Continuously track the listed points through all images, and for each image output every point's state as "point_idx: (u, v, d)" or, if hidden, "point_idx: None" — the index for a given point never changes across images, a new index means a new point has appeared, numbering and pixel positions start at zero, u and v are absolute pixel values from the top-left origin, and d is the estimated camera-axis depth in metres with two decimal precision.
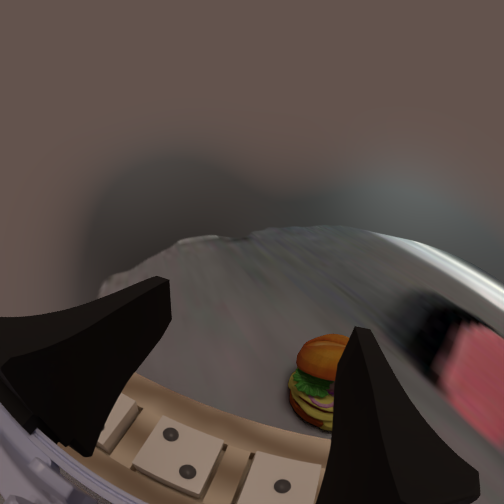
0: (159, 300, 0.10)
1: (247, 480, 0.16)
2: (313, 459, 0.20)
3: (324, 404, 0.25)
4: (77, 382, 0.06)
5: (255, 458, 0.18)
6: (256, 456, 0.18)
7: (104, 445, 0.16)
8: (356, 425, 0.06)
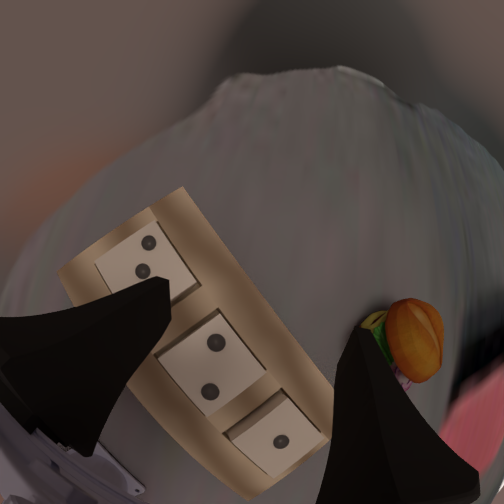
0: (159, 300, 0.10)
1: (258, 422, 0.19)
2: (324, 421, 0.22)
3: None
4: (77, 382, 0.06)
5: (280, 404, 0.20)
6: (283, 403, 0.20)
7: None
8: (356, 425, 0.06)
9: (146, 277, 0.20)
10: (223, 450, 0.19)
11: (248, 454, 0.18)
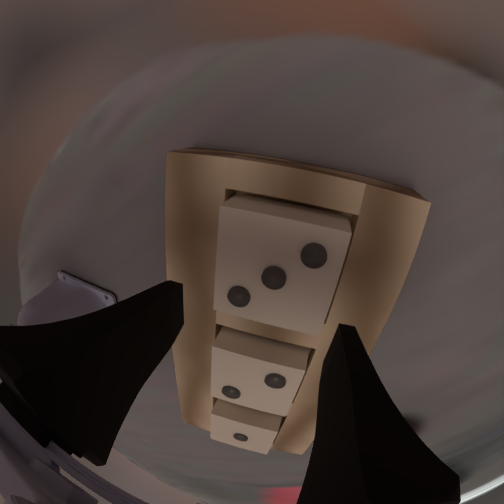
0: (173, 305, 0.09)
1: (241, 423, 0.20)
2: (283, 442, 0.23)
3: None
4: (92, 392, 0.06)
5: (268, 429, 0.20)
6: (271, 430, 0.19)
7: None
8: (335, 423, 0.06)
9: (271, 288, 0.13)
10: (202, 400, 0.23)
11: (213, 423, 0.21)
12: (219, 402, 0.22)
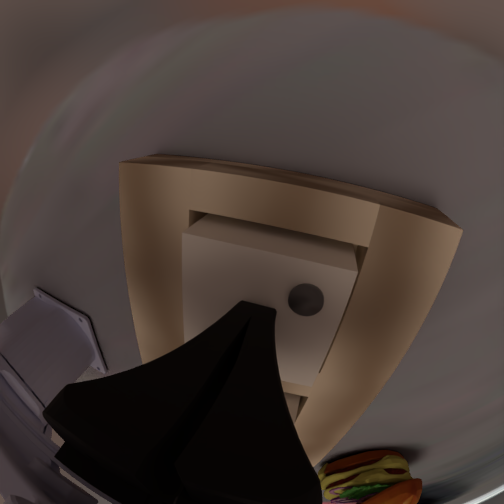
0: None
1: None
2: None
3: (333, 491, 0.17)
4: None
5: None
6: None
7: None
8: None
9: None
10: None
11: None
12: None
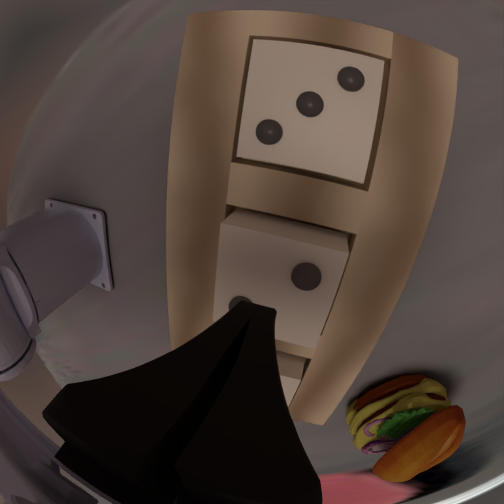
0: None
1: None
2: (301, 406, 0.19)
3: (369, 428, 0.17)
4: None
5: (288, 377, 0.16)
6: (291, 378, 0.16)
7: None
8: None
9: (307, 116, 0.11)
10: None
11: None
12: None
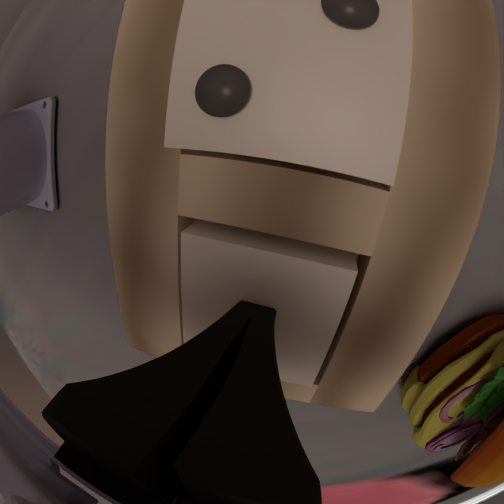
0: None
1: (258, 252, 0.09)
2: (341, 378, 0.11)
3: (450, 406, 0.09)
4: None
5: (332, 268, 0.08)
6: (338, 270, 0.08)
7: None
8: None
9: None
10: (155, 247, 0.10)
11: (186, 283, 0.10)
12: (205, 221, 0.10)
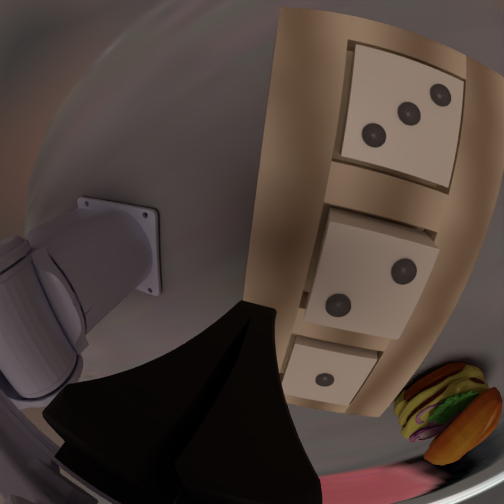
0: None
1: (333, 352, 0.17)
2: (363, 400, 0.19)
3: (421, 415, 0.17)
4: None
5: (366, 358, 0.17)
6: (369, 359, 0.16)
7: None
8: None
9: (407, 124, 0.10)
10: None
11: (292, 363, 0.18)
12: None
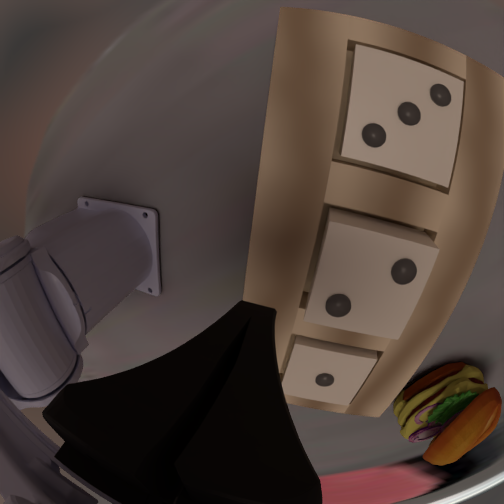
0: None
1: (333, 352, 0.17)
2: (363, 400, 0.19)
3: (420, 415, 0.17)
4: None
5: (366, 358, 0.17)
6: (369, 359, 0.16)
7: None
8: None
9: (407, 124, 0.10)
10: None
11: (292, 363, 0.18)
12: None
